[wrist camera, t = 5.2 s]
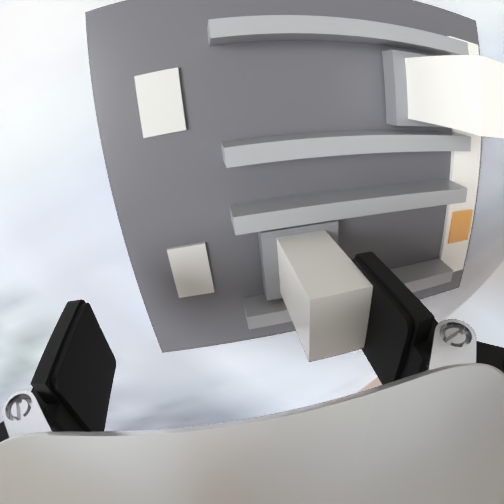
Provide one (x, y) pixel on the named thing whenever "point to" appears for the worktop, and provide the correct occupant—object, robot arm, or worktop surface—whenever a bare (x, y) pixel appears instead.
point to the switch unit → (272, 149)
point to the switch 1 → (317, 287)
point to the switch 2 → (445, 92)
